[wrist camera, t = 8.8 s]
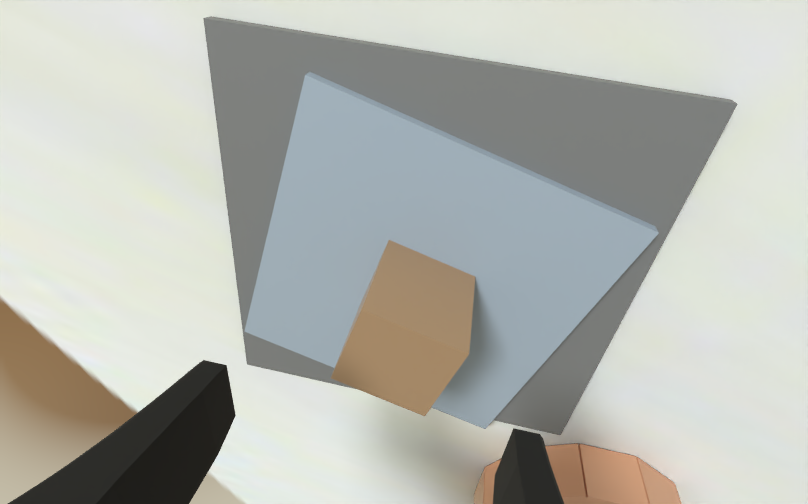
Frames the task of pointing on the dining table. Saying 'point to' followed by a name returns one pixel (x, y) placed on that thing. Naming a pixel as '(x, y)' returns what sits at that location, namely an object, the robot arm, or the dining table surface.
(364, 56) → the mat
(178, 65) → the dining table surface
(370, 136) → the cover
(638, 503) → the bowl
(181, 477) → the robot arm
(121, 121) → the dining table surface
